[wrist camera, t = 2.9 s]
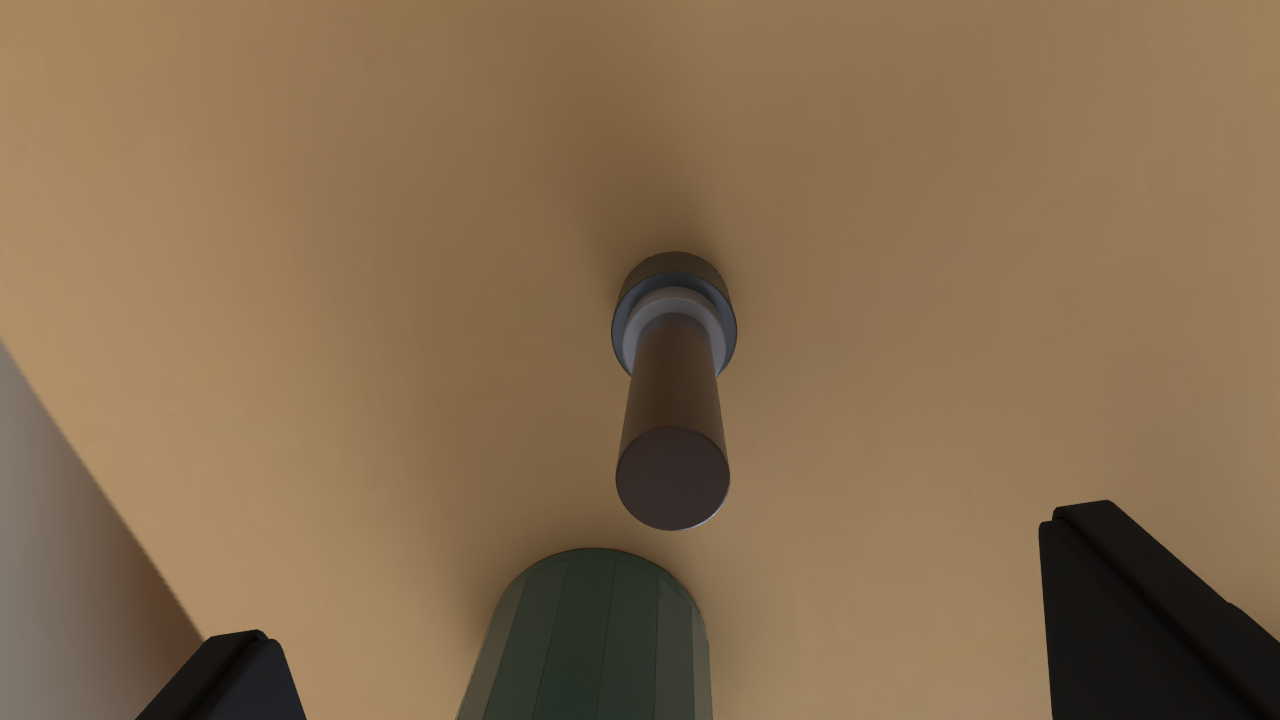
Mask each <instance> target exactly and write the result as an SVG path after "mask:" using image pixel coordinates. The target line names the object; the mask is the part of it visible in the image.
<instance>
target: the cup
mask: <svg viewBox="0 0 1280 720" xmlns="http://www.w3.org/2000/svg"><path fill="white" fill-rule="evenodd" d="M455 720H713V714H712V697H711V680H710V664H709V647H708V640H707V636H706V631H705V627H704V623H703V620H702V617H701V615H700V612H699V610H698V608H697V606H696V605H695V603H694V601H693V599H692V598H691V597H690V595H689V594H688V593H687V591H686V590H685V589H684V588H683V587H682V586H681V585H680V584H679V583H678V582H677V581H676V580H675V579H674V578H673V577H672V576H671V575H669V574H668V573H667V572H665V571H664V570H663V569H661V568H659V567H658V566H656V565H654V564H653V563H651V562H649V561H647V560H644V559H642V558H640V557H637V556H634V555H631V554H628V553H625V552H620V551H614V550H607V549H580V550H574V551H568V552H564V553H561V554H557V555H554V556H551V557H549V558H547V559H545V560H542V561H540V562H538V563H537V564H535V565H533V566H532V567H530V568H528V569H527V570H526V571H524V572H523V573H522V574H521V575H520V576H518V577H517V578H516V579H515V580H514V581H513V582H512V583H511V585H510V586H509V587H508V588H507V589H506V591H505V592H504V594H503V595H502V597H501V598H500V600H499V602H498V604H497V606H496V608H495V611H494V614H493V617H492V619H491V622H490V625H489V627H488V630H487V632H486V635H485V637H484V640H483V642H482V645H481V648H480V651H479V654H478V656H477V659H476V662H475V665H474V667H473V670H472V673H471V676H470V679H469V681H468V684H467V687H466V690H465V692H464V695H463V698H462V701H461V704H460V706H459V709H458V712H457V715H456V717H455Z"/></svg>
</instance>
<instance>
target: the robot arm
mask: <svg viewBox="0 0 1280 720" xmlns="http://www.w3.org/2000/svg"><path fill="white" fill-rule="evenodd" d="M1039 548H1040V562H1041V575H1042V588H1043V601H1044V614H1045V628H1046V641H1047V654H1048V667H1049V680H1050V694H1051V707H1052V717H1053V720H1280V643H1279V642H1278V641H1277V640H1276V639H1275V638H1274V637H1272V636H1271V635H1270V634H1269V633H1268V632H1267V631H1266V630H1264V629H1263V628H1262V627H1261V626H1260V625H1259V624H1257V623H1256V622H1255V621H1254V620H1253V619H1252V618H1250V617H1249V616H1248V615H1247V614H1246V613H1245V612H1243V611H1242V610H1241V609H1239V608H1238V607H1236V606H1235V605H1233V604H1231V603H1228V602H1227V601H1226V600H1224V599H1223V598H1222V597H1221V596H1220V595H1219V594H1218V593H1216V592H1215V591H1214V590H1213V589H1212V588H1211V587H1210V586H1208V585H1207V584H1206V583H1205V582H1204V581H1203V580H1202V579H1200V578H1199V577H1198V576H1197V575H1196V574H1195V573H1193V572H1192V571H1191V570H1190V569H1189V568H1188V567H1187V566H1185V565H1184V564H1183V563H1182V562H1181V561H1180V560H1179V559H1177V558H1176V557H1175V556H1174V555H1173V554H1172V553H1171V552H1169V551H1168V550H1167V549H1166V548H1165V547H1164V546H1162V545H1161V544H1160V543H1159V542H1158V541H1157V540H1156V539H1154V538H1153V537H1152V536H1151V535H1150V534H1149V533H1148V532H1146V531H1145V530H1144V529H1143V528H1142V527H1141V526H1140V525H1138V524H1137V523H1136V522H1135V521H1134V520H1133V519H1131V518H1130V517H1129V516H1128V515H1127V514H1126V513H1125V512H1123V511H1122V510H1121V509H1120V508H1119V507H1118V506H1117V505H1115V504H1114V503H1113V502H1111V501H1109V500H1101V501H1094V502H1088V503H1081V504H1075V505H1068V506H1061V507H1056V509H1055V510H1054V512H1053V516H1052V521H1046V522H1042V523H1041V524H1040V526H1039ZM135 720H307V719H306V716H305V713H304V711H303V708H302V705H301V702H300V699H299V696H298V693H297V690H296V687H295V684H294V681H293V678H292V675H291V672H290V670H289V667H288V664H287V661H286V658H285V655H284V652H283V649H282V647H281V645H280V644H279V643H278V641H277V640H274V639H268V637H267V636H266V635H265V634H264V633H263V632H262V631H260V630H257V629H256V630H249V631H243V632H236V633H230V634H223V635H217V636H212V637H210V638H209V639H207V640H206V641H205V642H204V643H203V644H202V645H201V646H200V648H199V649H198V650H197V651H196V652H195V653H194V654H193V655H192V656H191V658H190V659H189V660H188V661H187V662H186V663H185V664H184V665H183V667H182V668H181V669H180V670H179V671H178V672H177V673H176V674H175V676H174V677H173V678H172V679H171V680H170V681H169V682H168V683H167V684H166V686H165V687H164V688H163V689H162V690H161V691H160V692H159V693H158V694H157V696H156V697H155V698H154V699H153V700H152V701H151V702H150V703H149V705H148V706H147V707H146V708H145V709H144V710H143V711H142V712H141V713H140V715H139V716H138V717H137V718H136V719H135Z"/></svg>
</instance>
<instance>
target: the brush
mask: <svg viewBox="0 0 1280 720" xmlns="http://www.w3.org/2000/svg"><path fill="white" fill-rule="evenodd" d="M611 340H612V345H613V349H614V352H615V355H616V357H617V359H618V361H619V363H620V364H621V366H622V367H623V369H624V370H625V371H626V372H627V373H628V374H629V375H630V376H631V382H630V388H629V394H628V400H627V406H626V412H625V418H624V425H623V431H622V437H621V443H620V449H619V455H618V461H617V467H616V476H615V478H616V487H617V491H618V494H619V497H620V499H621V501H622V503H623V505H624V506H625V507H626V509H627V510H628V511H629V512H630V513H631V514H632V515H633V516H634V517H635V518H636V519H638V520H639V521H641V522H642V523H644V524H646V525H648V526H650V527H653V528H656V529H660V530H666V531H681V530H687V529H690V528H693V527H696V526H699V525H700V524H702V523H704V522H706V521H707V520H709V519H710V518H711V517H712V516H713V515H714V514H716V513H717V511H718V510H719V509H720V508H721V506H722V505H723V503H724V501H725V499H726V497H727V494H728V491H729V486H730V471H729V464H728V457H727V450H726V444H725V437H724V430H723V423H722V416H721V409H720V403H719V396H718V389H717V382H716V377H717V376H719V375H720V374H721V373H722V371H723V370H724V369H725V368H726V366H727V365H728V363H729V361H730V360H731V357H732V355H733V353H734V350H735V346H736V341H737V324H736V318H735V315H734V311H733V308H732V304H731V301H730V297H729V293H728V290H727V287H726V285H725V282H724V280H723V279H722V277H721V275H720V274H719V273H718V272H717V270H716V269H715V268H714V267H713V266H712V265H710V264H709V263H708V262H706V261H705V260H703V259H701V258H700V257H698V256H695V255H692V254H689V253H684V252H665V253H660V254H657V255H654V256H652V257H649V258H647V259H646V260H644V261H642V262H641V263H640V264H639V265H637V266H636V267H635V268H634V269H633V270H632V271H631V273H630V274H629V275H628V277H627V278H626V280H625V282H624V284H623V286H622V289H621V292H620V295H619V299H618V302H617V305H616V309H615V312H614V315H613V320H612V326H611Z"/></svg>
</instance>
